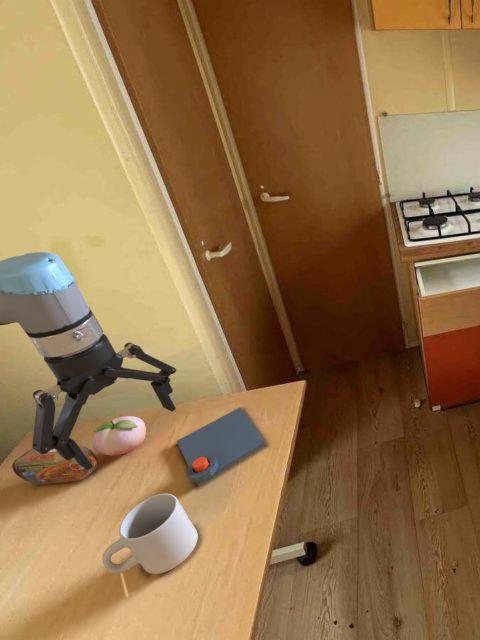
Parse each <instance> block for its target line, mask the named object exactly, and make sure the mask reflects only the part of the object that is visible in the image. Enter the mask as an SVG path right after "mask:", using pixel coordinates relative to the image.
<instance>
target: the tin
mask: <svg viewBox="0 0 480 640" xmlns="http://www.w3.org/2000/svg"><path fill="white" fill-rule="evenodd" d="M78 446H79V448H80V449H81V450H82V452H83V453H84V455H85V456H86V457H87V459H88V460H89V461H90V463H91V464H92V466H93V467H92V468H91V469H89V470H87V469H85V468H83V467H82V466H80V465H79V464H78V463H77V461H76V460H75V459H74V458H72V459H71V460H66V459H64V458H63V457H61V456H60V454H59V453H58V452H57V450H56V449H52V450H50V451H49V452H48V453H46V454H40V453H39V452H37V451H36V450H34V449H33V448H30V449H28V450H27V451H25V452H24V453H23V454H22V455H20V456H19V457H18V458H16V459H15V460H13V462H12V465H11V467H12V468H11V469H12V471H13V473H14V474H15V475H16V476H17V477H18V478H19V479H21V480H23V481H26V482H28V483H31V484H35V485H46V484H56V483H57V484H58V483H69V482H78V481H83V480H85V479H87V478H89V476H90V475H91V474H92V473H93V472H94V471H95V469H97V467H98V465H99V460H98V457H97V455H95V453H94V452H93V451H92V450H91V449H90V448H88V447H86V446H82V445H78Z"/></svg>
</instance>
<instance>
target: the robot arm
mask: <svg viewBox="0 0 480 640" xmlns="http://www.w3.org/2000/svg"><path fill="white" fill-rule="evenodd" d="M17 323H18V325H19V326H20V327H21V328H22V330H23V332H25V334H26V336H28V338H29V340H30V341H31V343H32V344H33V346H34V347H35V349H36V351H37V352H38V354H39V355H40V356H42V357H43V360H44V362H45V364H46V365H47V366H48V367H49V370H50V371H51V372H52V374H53V376H54V377H55V378H56V385H54V386H52V387H50V388H47V389H45V390H43V389H37V390H35V391H34V392H33V393H32V397H33V400H34V402H35V404H36V409H35V417H34V426H33V436H32V444H31V449H34V450H36V451H37V452H39V453H40V454H46V453H48V452H49V451H50V450H52V449H56V450H57V452H58V453H59V454H60V456H61V457H63V458H64V459H66V460H71V459H72V458H74V459H75V460H76V461H77V463H78V464H79V465H80V466H82V467H83V468H85V469H87V470H89V469H91V468H92V467H93V466H92V464H91V463H90V461H89V460H88V459H87V457H86V456H85V455H84V453H83V452H82V450H81V449H80V448H79V446H80V445H79V444H77V442H76V440H75V439H72V438H71V435H72V432H73V429H74V427H75V425H76V422H77V420H78V418H79V415H80V413H81V410H82V408H83V406H84V405H86V403H87V401H88V399H89V396H95V395H96V394H98V393H100V392H101V391H103V390H104V389H105V388H108V387H110V386H112V385H113V384H115V383H116V381H117V379H118V378H119V379H126V380H127V379H128V380H129V379H131V380H139V381H145V382H150V383H149V384H150V385H151V387H152V389H153V391H154V393H155V395H156V397H157V398H158V400H159V402H160V404H161V406H162V407H163V408H164V409H166V410H168V411H170V412H174V411H175V410H177V407H176V406H175V404H174V402H173V400H172V399H171V397H170V395H171V394H172V393H173V387H172V385H171V383H170V382H171V378H170V376H171V375H174V374H175V373H176V372H177V368H176V367H175V366H173V365H170V364H167V363H166V362H164V361H162V360H159V359H157V358H155V357H154V356H151V355H149V354H147V353H145V352H144V349H142V347H141V346H139V345H138V344H135V343H133V342H127V343H125V344H124V347H123V348H122V349H121V350H119V351H117V352H116V350H115V348H114V346H113V345H112V343H111V341H110V340H109V338H108V336H107V335H106V334H105V333H104V330H103V328H102V326H101V325H100V323H99V321H98V319H97V318H96V316H95V314H94V312H93V311H92V309H91V307H90V306H89V305H88V303H87V301H86V299H85V297H84V295H83V294H82V292H81V290H80V288H79V286H78V284H77V282H76V279H75V276H74V275H73V273H72V272H70V271H69V269H68V268H67V266H66V264H65V263H64V262H63V260H62V259H61V258H60V256H58V255H56V254H55V253H52V252H47V251H38V252H28V253H25V254H22V255H15V256H11V257H8V258H5V259H2V260H0V326H5V325H11V324H17ZM124 358H128V359H137V360H139V361H141V362H144V363H146V364H148V365H150V366H152V367H154V368H156V369H158V370H159V372H155V371H147V370H140V369H133V368H129V367H123V362H124ZM62 392H63V393H66V394H65V397H64V403H63V406H62V409H61V410H60V413H59V415H58V418H57V420H56V423H55V416H56V402H58V400H59V395H60V394H61V393H62ZM54 423H55V424H54Z"/></svg>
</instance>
